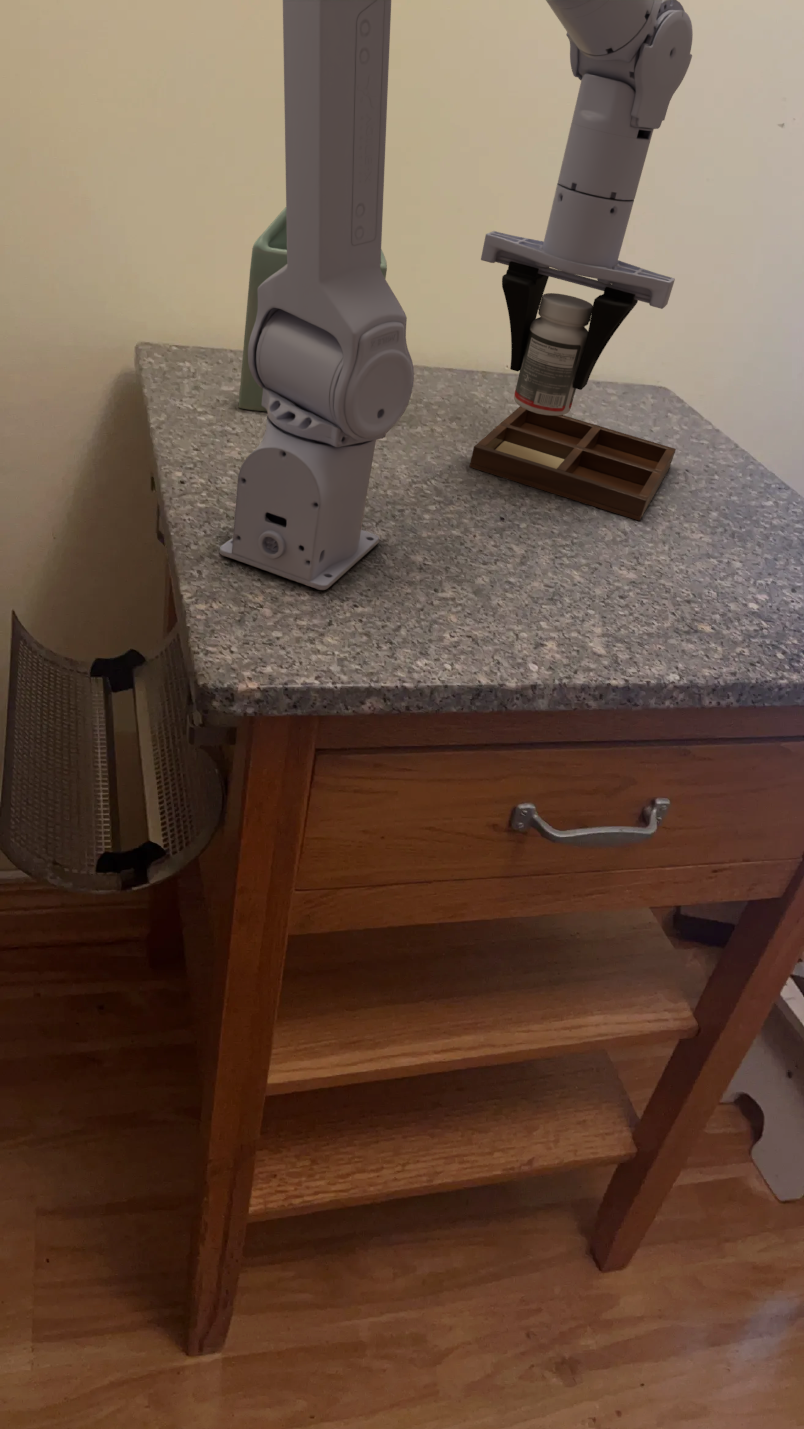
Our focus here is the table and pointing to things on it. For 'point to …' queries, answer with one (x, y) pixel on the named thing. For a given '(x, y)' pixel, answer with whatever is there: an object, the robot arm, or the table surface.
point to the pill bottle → (553, 355)
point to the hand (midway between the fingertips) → (548, 377)
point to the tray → (575, 460)
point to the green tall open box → (264, 263)
